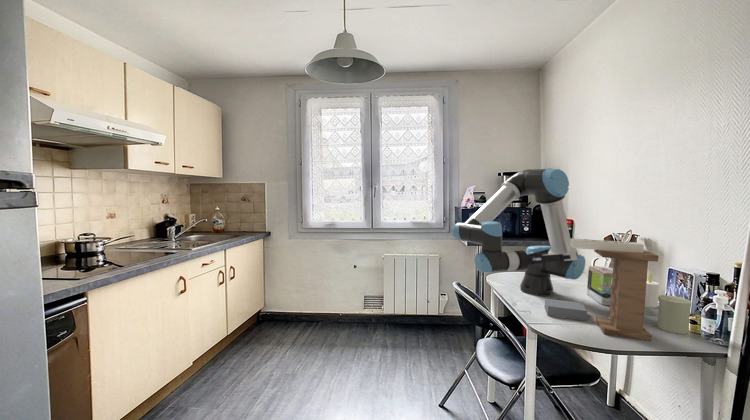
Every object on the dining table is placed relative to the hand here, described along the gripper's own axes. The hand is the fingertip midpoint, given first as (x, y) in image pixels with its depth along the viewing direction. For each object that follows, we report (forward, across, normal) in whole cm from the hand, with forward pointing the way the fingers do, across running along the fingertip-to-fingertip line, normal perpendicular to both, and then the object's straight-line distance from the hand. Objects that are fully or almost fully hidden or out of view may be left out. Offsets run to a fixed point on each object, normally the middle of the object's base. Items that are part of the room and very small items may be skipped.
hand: (564, 256), depth 137 cm
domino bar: (+8, +12, +2) cm, 15 cm away
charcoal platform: (+3, -9, -24) cm, 25 cm away
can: (+34, +8, -30) cm, 46 cm away
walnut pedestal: (+12, +8, -28) cm, 31 cm away
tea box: (+34, -23, -22) cm, 46 cm away
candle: (+49, -15, -25) cm, 57 cm away
